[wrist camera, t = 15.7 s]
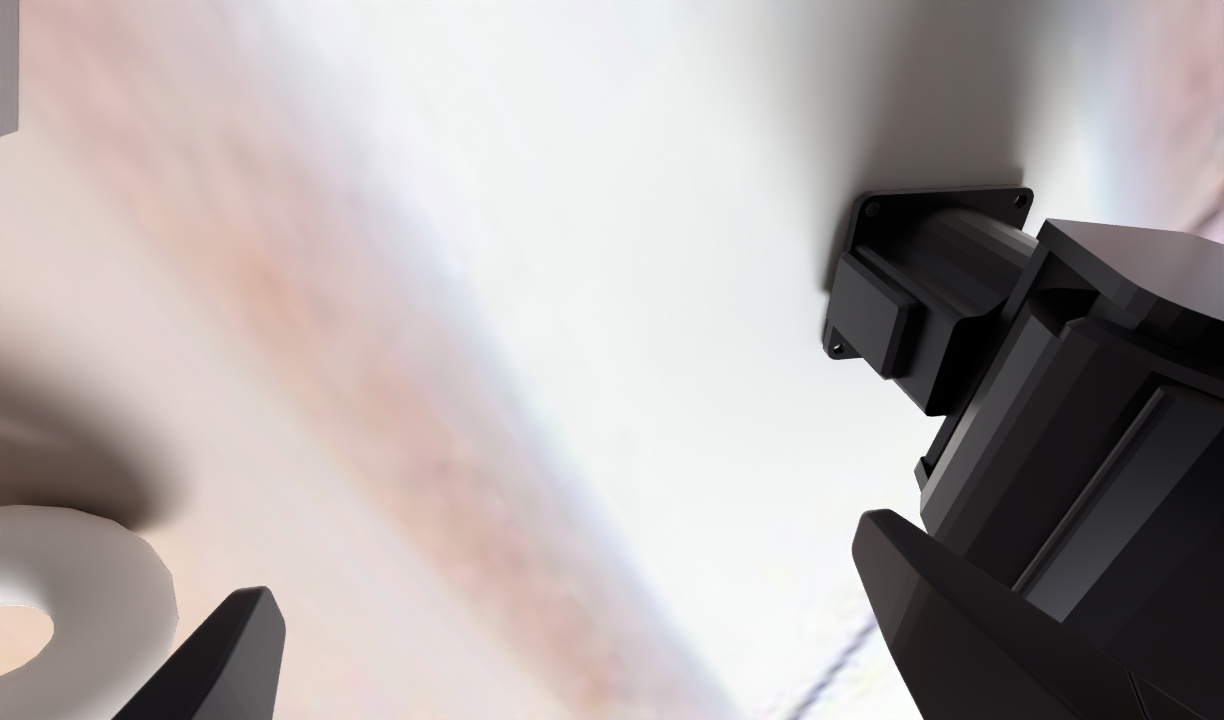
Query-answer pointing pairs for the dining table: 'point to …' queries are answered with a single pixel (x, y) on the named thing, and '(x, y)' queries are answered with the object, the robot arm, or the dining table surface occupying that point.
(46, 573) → the donut
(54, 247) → the dining table surface
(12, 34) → the socket
